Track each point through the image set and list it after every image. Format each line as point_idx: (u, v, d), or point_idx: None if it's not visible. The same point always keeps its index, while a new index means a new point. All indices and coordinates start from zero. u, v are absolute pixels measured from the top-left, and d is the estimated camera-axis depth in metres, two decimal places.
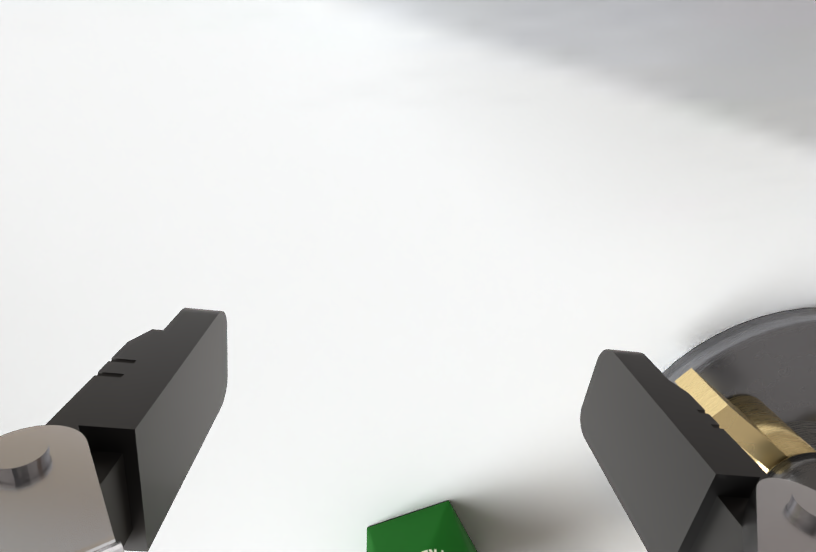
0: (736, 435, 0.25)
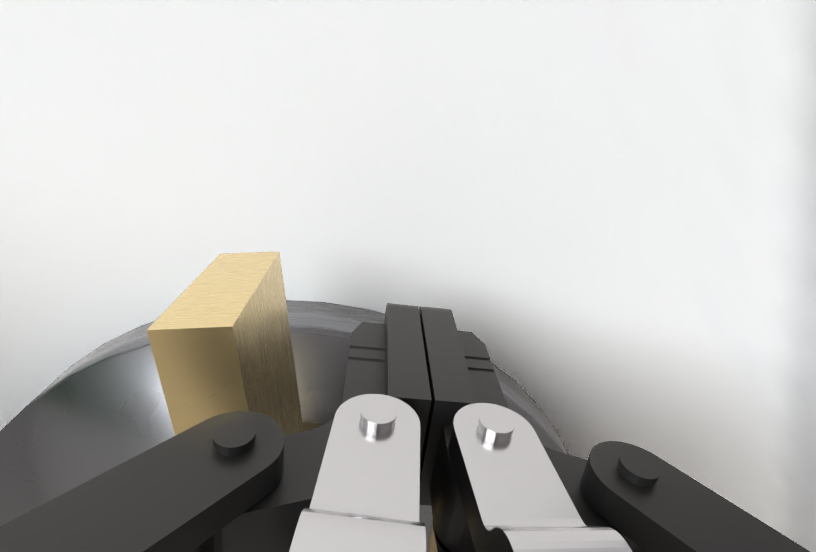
0: None
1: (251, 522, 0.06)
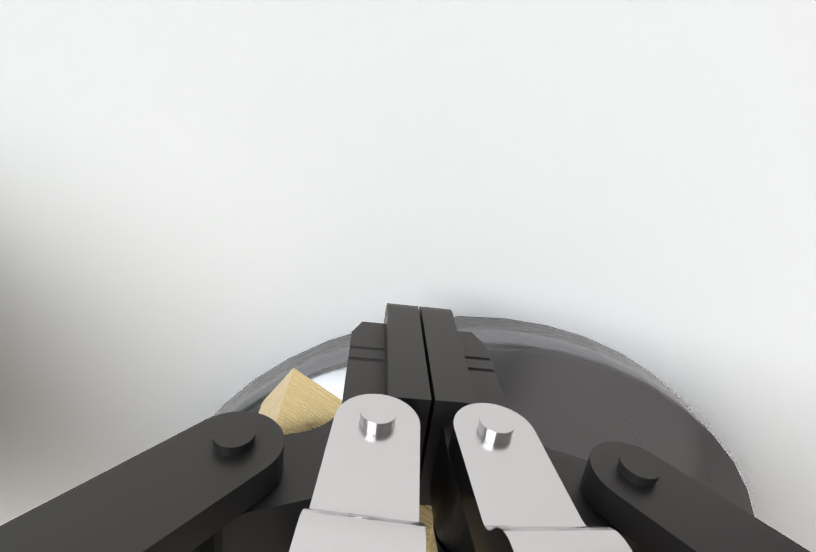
0: None
1: (251, 522, 0.06)
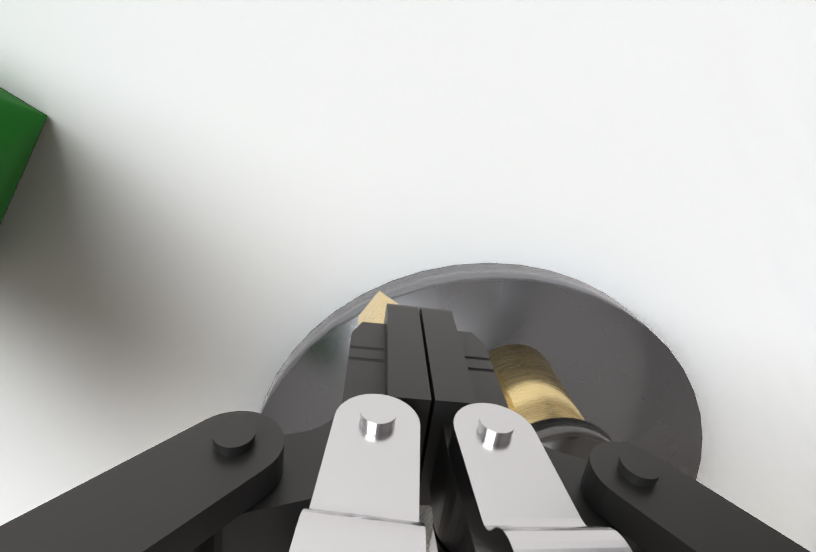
0: None
1: (251, 522, 0.06)
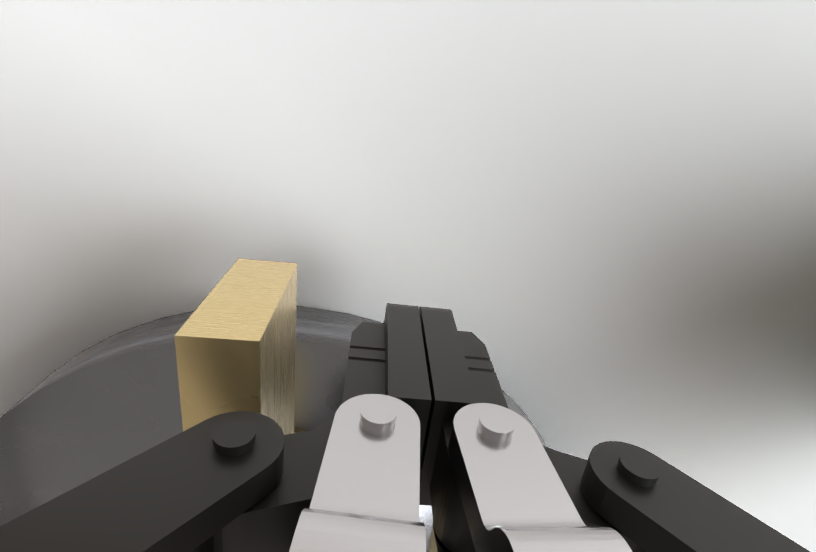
0: None
1: (251, 522, 0.06)
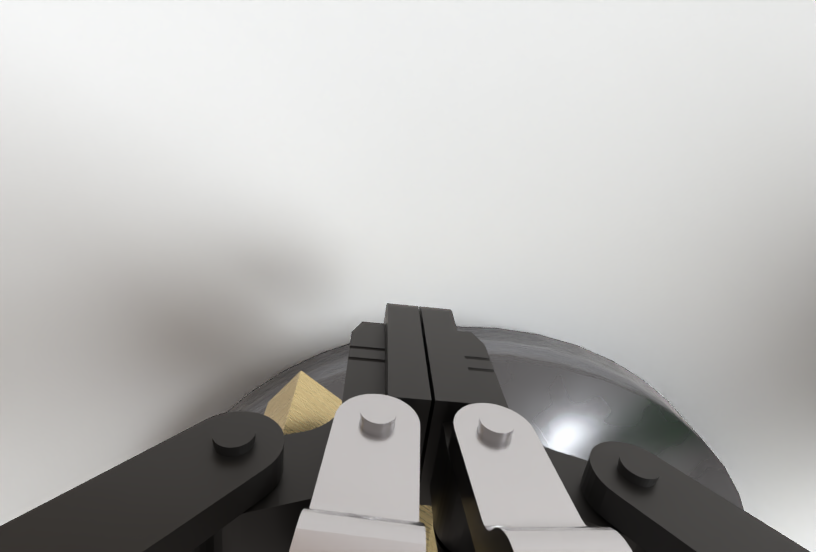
0: None
1: (251, 522, 0.06)
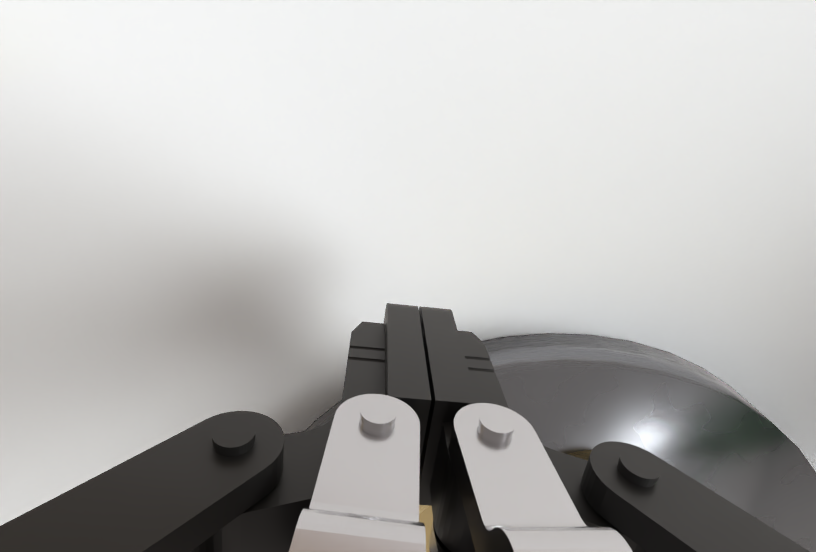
0: None
1: (251, 522, 0.06)
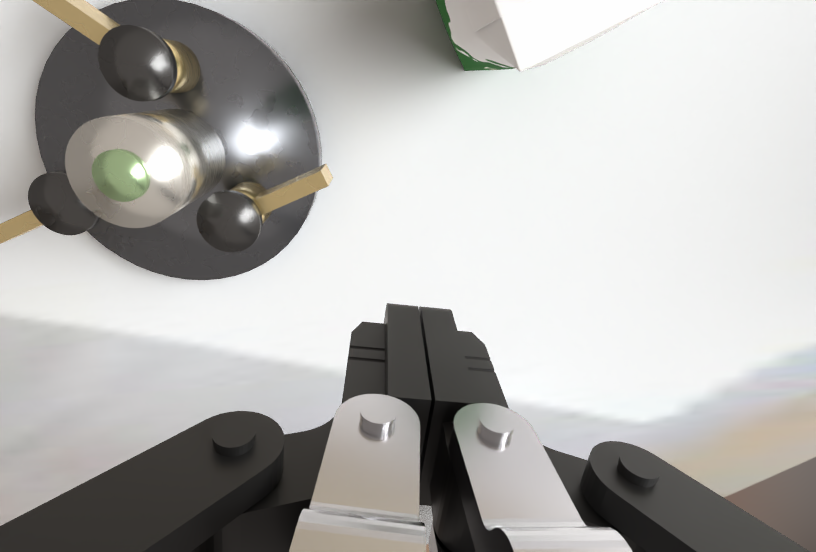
0: (296, 185, 0.34)
1: (251, 523, 0.06)
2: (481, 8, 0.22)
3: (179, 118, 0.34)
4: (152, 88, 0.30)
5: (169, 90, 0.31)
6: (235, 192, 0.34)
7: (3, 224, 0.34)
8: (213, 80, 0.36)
